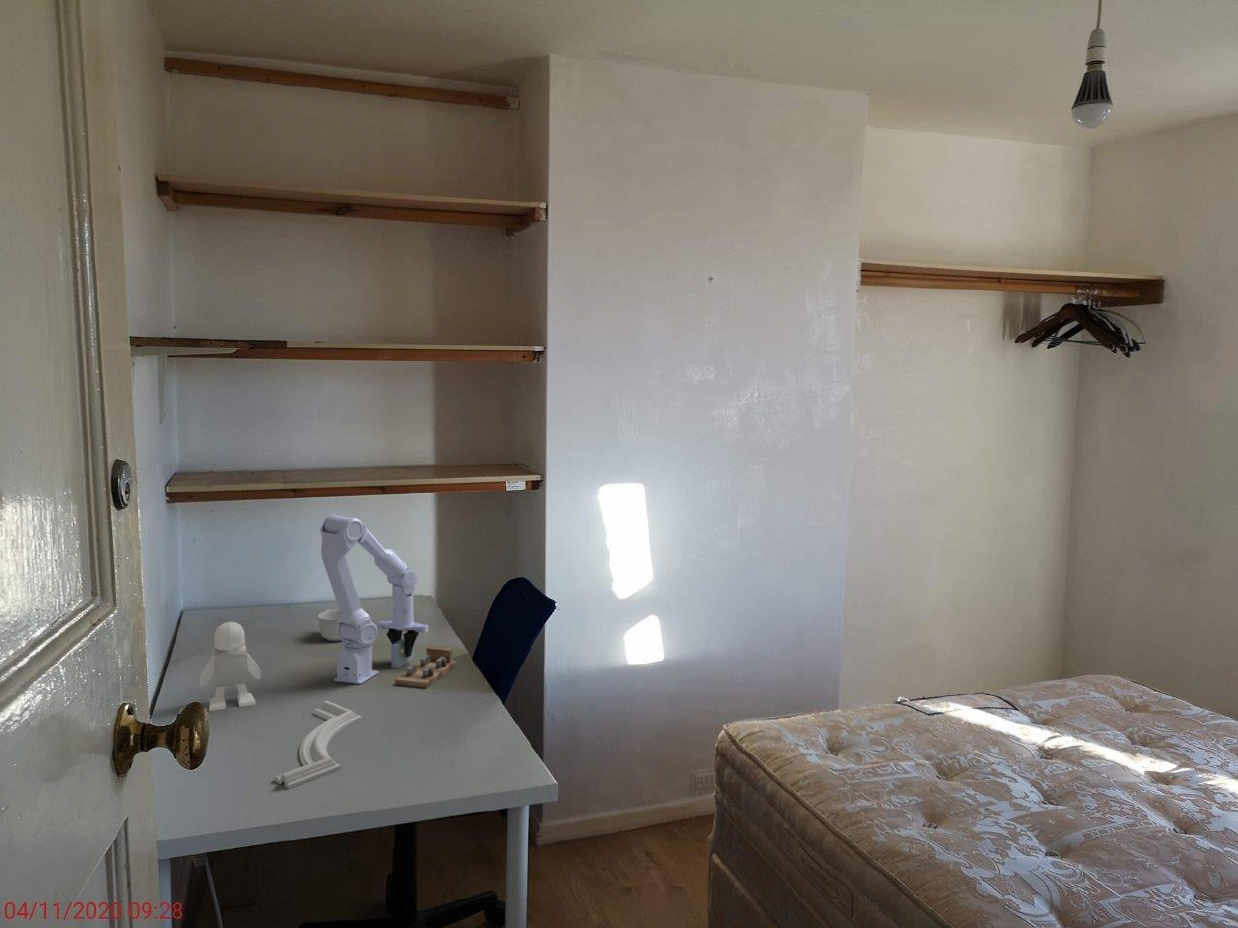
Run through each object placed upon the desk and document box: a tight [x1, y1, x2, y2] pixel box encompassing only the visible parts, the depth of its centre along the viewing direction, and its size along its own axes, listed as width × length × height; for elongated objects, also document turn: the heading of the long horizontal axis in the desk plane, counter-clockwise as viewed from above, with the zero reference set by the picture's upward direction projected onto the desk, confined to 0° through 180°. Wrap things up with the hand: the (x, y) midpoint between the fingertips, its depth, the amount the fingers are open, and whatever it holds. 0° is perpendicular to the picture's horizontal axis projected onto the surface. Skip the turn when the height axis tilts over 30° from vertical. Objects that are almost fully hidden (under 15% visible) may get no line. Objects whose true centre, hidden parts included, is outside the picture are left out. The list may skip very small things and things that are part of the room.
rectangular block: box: [390, 637, 416, 669], centre depth 247 cm, size 10×3×6 cm, turn 166°
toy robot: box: [198, 621, 262, 712], centre depth 215 cm, size 14×9×20 cm, turn 117°
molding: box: [273, 700, 363, 790], centre depth 192 cm, size 42×12×3 cm, turn 7°
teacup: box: [317, 608, 342, 642], centre depth 270 cm, size 14×11×8 cm
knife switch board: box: [394, 646, 457, 689], centre depth 237 cm, size 18×9×5 cm, turn 166°
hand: (403, 655), depth 247 cm, fingers open, 3 cm apart
